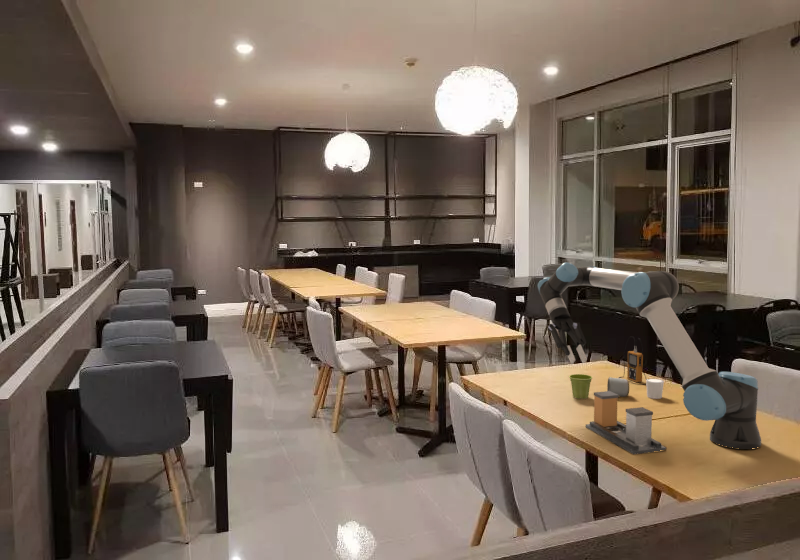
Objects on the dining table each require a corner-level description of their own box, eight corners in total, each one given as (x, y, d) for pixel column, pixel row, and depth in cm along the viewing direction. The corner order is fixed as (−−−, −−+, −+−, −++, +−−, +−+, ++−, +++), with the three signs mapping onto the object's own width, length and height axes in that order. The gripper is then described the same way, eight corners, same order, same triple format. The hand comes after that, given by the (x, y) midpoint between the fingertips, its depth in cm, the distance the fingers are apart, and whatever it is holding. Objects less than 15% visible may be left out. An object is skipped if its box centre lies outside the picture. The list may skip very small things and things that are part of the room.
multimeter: (608, 378, 303) (609, 335, 301) (627, 376, 306) (628, 334, 304) (628, 386, 289) (630, 341, 287) (647, 384, 292) (649, 340, 290)
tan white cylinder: (667, 398, 270) (667, 381, 270) (653, 400, 268) (654, 383, 267) (654, 393, 277) (655, 377, 276) (641, 395, 274) (642, 379, 273)
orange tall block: (593, 422, 235) (593, 392, 234) (608, 420, 236) (609, 391, 235) (601, 427, 229) (602, 396, 228) (617, 425, 231) (618, 395, 230)
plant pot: (564, 397, 273) (564, 376, 272) (577, 392, 279) (577, 372, 279) (583, 401, 266) (584, 380, 265) (596, 397, 272) (597, 376, 272)
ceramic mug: (629, 398, 270) (630, 380, 269) (609, 397, 271) (609, 379, 271) (625, 392, 280) (625, 374, 280) (605, 391, 282) (605, 373, 281)
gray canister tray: (585, 427, 234) (586, 394, 233) (615, 424, 238) (615, 391, 236) (633, 454, 207) (634, 417, 206) (665, 450, 211) (667, 414, 209)
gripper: (573, 316, 268) (595, 365, 254) (535, 318, 263) (554, 368, 249) (580, 305, 262) (603, 354, 248) (541, 307, 258) (562, 357, 243)
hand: (578, 361), depth 249 cm, fingers open, 4 cm apart
